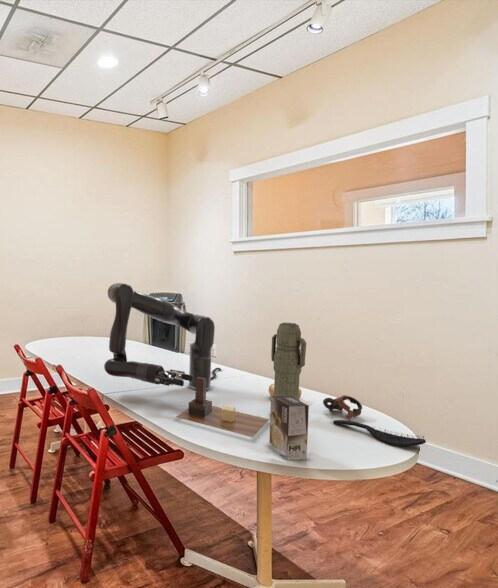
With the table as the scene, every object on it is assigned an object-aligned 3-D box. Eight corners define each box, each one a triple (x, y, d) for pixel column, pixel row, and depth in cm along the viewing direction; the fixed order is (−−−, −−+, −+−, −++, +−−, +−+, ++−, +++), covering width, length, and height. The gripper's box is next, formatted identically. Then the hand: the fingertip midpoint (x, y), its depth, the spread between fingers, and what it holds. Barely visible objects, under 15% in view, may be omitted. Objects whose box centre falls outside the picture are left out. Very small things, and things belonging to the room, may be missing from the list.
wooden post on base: (196, 407, 153) (197, 374, 152) (211, 411, 149) (212, 377, 148) (188, 413, 148) (189, 378, 147) (204, 417, 144) (205, 381, 143)
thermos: (296, 425, 140) (301, 326, 138) (263, 415, 150) (266, 322, 147) (308, 419, 145) (312, 324, 143) (275, 410, 155) (278, 320, 152)
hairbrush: (339, 412, 144) (430, 434, 123) (339, 422, 145) (430, 446, 123) (327, 417, 140) (419, 440, 119) (327, 427, 140) (419, 453, 119)
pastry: (270, 393, 175) (271, 373, 175) (302, 398, 169) (303, 377, 168) (266, 400, 166) (267, 379, 165) (299, 406, 159) (300, 384, 158)
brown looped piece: (348, 411, 155) (360, 397, 150) (356, 430, 147) (368, 415, 142) (315, 401, 157) (326, 387, 152) (321, 419, 149) (333, 405, 145)
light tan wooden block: (222, 416, 144) (223, 405, 144) (234, 418, 142) (235, 407, 142) (220, 420, 141) (221, 409, 141) (233, 422, 139) (233, 411, 139)
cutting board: (197, 406, 159) (197, 402, 159) (269, 423, 142) (269, 419, 142) (175, 420, 144) (175, 416, 144) (252, 441, 127) (252, 437, 127)
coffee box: (308, 459, 115) (310, 405, 114) (287, 460, 115) (289, 406, 114) (287, 445, 124) (289, 395, 123) (267, 446, 124) (269, 395, 123)
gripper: (141, 367, 156) (180, 375, 145) (158, 360, 166) (196, 367, 156) (140, 386, 156) (179, 395, 146) (158, 378, 167) (195, 386, 156)
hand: (188, 380), depth 151 cm, fingers open, 8 cm apart
